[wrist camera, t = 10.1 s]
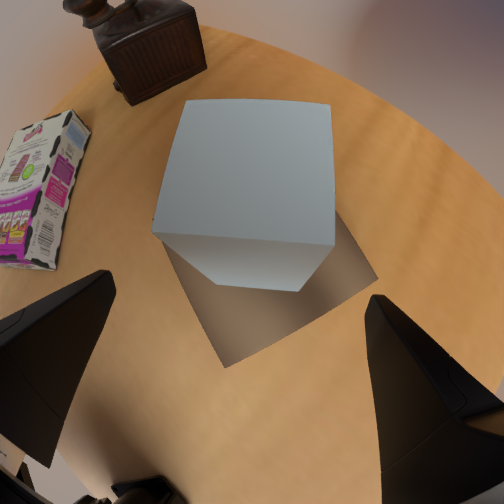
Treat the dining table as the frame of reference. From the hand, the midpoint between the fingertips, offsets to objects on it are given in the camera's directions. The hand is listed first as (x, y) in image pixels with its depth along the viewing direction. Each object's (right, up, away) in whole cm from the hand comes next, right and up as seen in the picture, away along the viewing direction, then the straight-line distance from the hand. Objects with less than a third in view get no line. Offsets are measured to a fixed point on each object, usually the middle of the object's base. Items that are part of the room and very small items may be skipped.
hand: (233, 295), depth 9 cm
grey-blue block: (+1, +2, +9) cm, 9 cm away
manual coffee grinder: (-10, +22, +19) cm, 31 cm away
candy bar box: (-24, 0, +11) cm, 26 cm away
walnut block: (+1, +1, +12) cm, 13 cm away
